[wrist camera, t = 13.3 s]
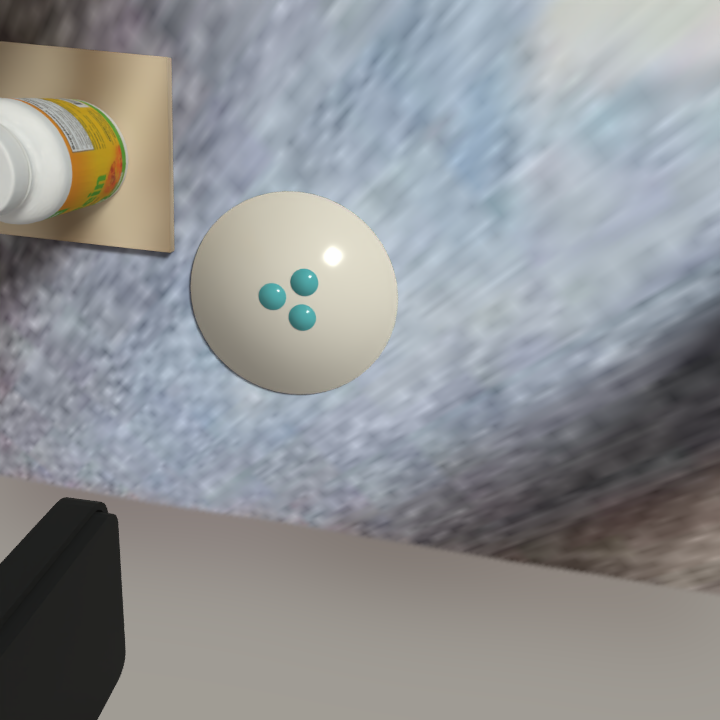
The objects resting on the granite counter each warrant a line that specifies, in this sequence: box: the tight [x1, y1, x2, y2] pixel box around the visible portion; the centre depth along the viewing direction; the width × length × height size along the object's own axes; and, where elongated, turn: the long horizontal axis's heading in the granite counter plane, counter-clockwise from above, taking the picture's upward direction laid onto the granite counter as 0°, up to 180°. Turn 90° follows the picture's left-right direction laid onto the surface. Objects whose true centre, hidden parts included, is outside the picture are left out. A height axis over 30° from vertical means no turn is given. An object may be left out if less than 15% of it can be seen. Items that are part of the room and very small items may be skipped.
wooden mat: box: [0, 41, 174, 253], centre depth 35 cm, size 10×10×1 cm
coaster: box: [191, 191, 398, 394], centre depth 37 cm, size 12×12×1 cm
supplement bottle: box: [0, 98, 128, 224], centre depth 30 cm, size 5×5×10 cm
